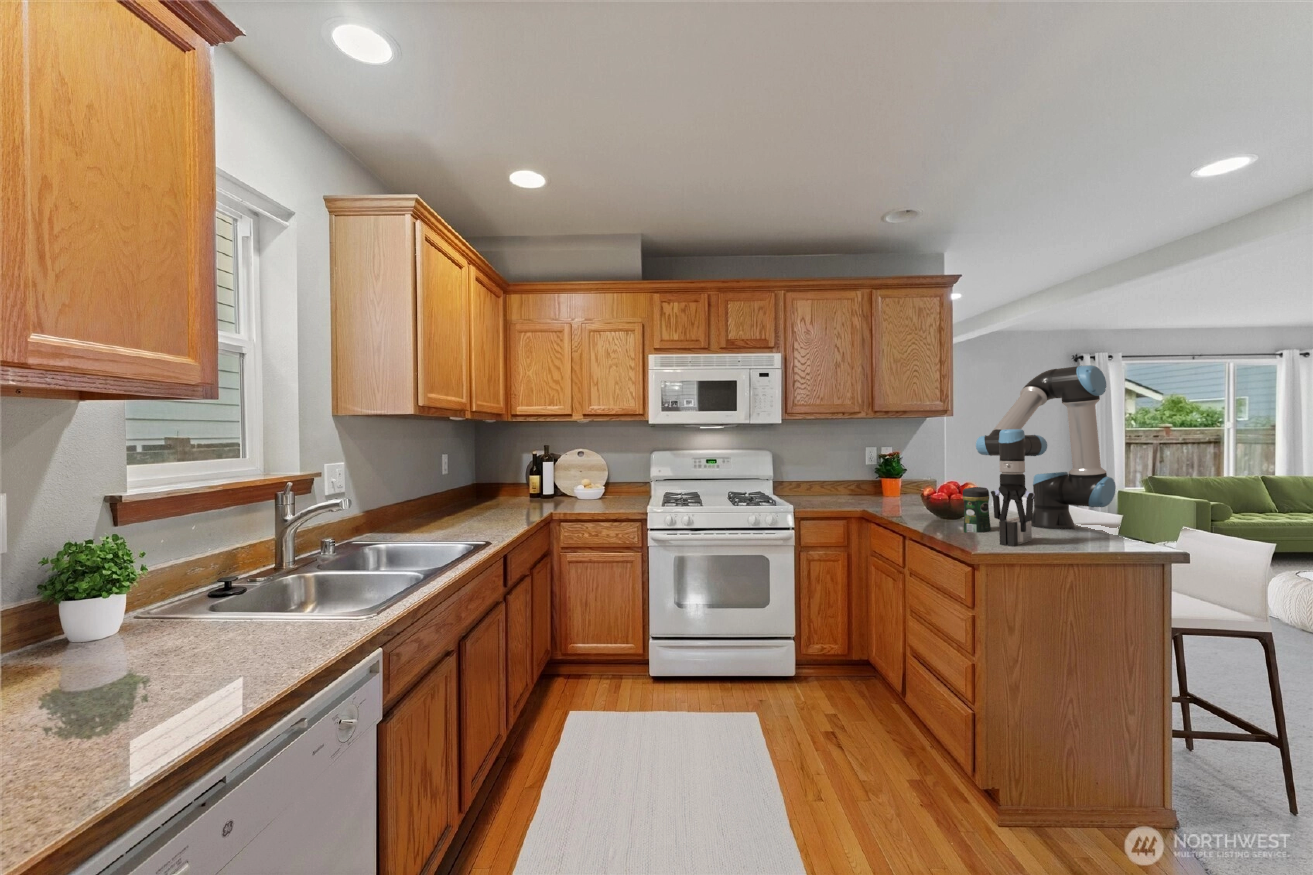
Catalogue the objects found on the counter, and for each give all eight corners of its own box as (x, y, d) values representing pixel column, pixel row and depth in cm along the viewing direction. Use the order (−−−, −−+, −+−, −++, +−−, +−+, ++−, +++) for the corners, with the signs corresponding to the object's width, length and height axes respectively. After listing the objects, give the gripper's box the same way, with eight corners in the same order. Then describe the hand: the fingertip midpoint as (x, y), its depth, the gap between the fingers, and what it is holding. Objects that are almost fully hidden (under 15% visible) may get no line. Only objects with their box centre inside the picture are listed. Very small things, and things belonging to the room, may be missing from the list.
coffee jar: (975, 531, 228) (974, 485, 228) (994, 534, 220) (993, 487, 221) (959, 533, 224) (958, 487, 224) (978, 536, 216) (976, 488, 216)
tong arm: (1018, 538, 203) (1017, 516, 203) (1024, 539, 202) (1023, 517, 202) (999, 544, 193) (999, 521, 193) (1006, 545, 192) (1005, 522, 192)
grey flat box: (1025, 540, 203) (1024, 515, 203) (1035, 541, 200) (1034, 516, 200) (1004, 546, 192) (1003, 520, 192) (1014, 547, 190) (1013, 521, 190)
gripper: (981, 472, 200) (982, 538, 199) (1035, 474, 186) (1036, 544, 186) (990, 472, 204) (991, 536, 204) (1044, 473, 191) (1045, 542, 190)
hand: (1013, 540), depth 195 cm, fingers open, 4 cm apart
